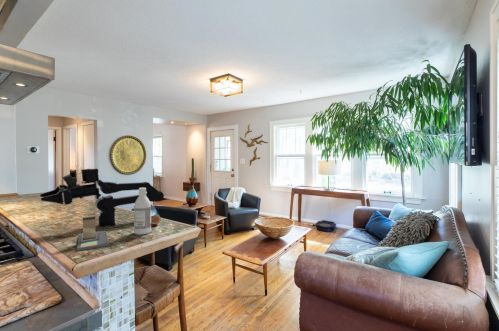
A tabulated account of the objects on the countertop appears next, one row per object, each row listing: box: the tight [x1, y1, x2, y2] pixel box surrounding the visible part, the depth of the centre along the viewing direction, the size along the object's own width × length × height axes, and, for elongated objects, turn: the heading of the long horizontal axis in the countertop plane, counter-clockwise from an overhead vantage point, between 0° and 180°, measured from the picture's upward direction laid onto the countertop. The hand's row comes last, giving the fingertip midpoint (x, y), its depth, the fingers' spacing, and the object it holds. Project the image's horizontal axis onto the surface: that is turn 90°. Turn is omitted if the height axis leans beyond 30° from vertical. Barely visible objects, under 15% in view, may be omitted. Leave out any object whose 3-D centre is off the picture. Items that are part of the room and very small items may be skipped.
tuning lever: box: [82, 216, 96, 240], centre depth 96 cm, size 2×4×9 cm, turn 122°
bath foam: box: [133, 188, 152, 236], centre depth 109 cm, size 7×7×20 cm
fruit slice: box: [151, 214, 161, 227], centre depth 121 cm, size 8×7×5 cm
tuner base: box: [76, 230, 109, 252], centre depth 98 cm, size 20×10×4 cm, turn 32°
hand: (40, 197), depth 106 cm, fingers open, 9 cm apart
